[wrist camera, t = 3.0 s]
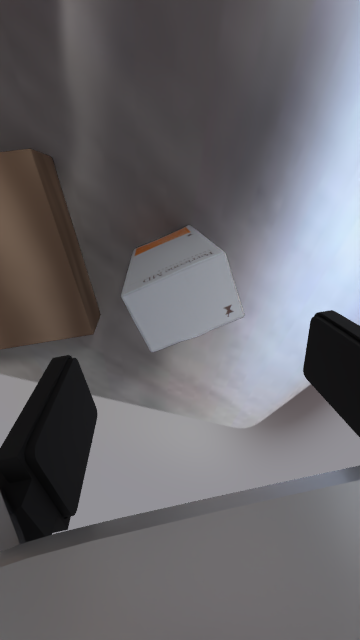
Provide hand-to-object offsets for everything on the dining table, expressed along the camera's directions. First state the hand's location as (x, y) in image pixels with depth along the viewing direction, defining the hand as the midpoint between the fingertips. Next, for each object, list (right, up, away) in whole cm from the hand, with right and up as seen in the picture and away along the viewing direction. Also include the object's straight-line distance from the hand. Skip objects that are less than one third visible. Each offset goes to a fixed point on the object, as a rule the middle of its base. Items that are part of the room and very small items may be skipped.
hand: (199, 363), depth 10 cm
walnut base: (-17, +7, +12) cm, 22 cm away
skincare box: (-2, +8, +14) cm, 16 cm away
